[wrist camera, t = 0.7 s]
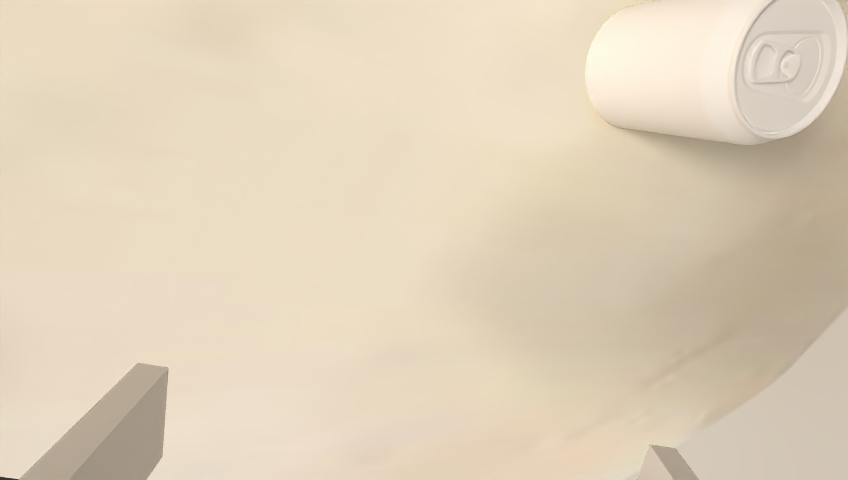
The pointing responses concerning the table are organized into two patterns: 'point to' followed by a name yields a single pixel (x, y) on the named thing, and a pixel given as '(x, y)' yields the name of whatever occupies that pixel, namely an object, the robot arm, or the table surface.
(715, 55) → the beverage can
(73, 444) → the robot arm
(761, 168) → the table surface
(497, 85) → the table surface
